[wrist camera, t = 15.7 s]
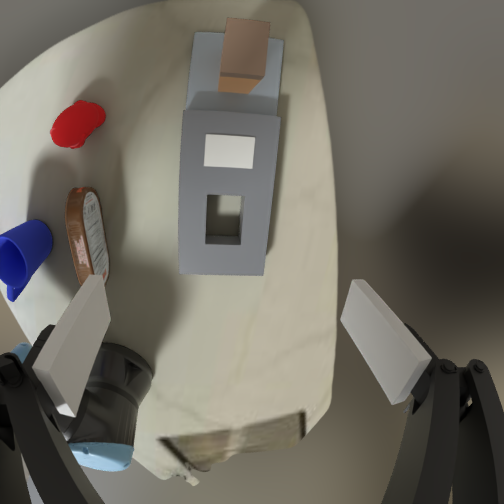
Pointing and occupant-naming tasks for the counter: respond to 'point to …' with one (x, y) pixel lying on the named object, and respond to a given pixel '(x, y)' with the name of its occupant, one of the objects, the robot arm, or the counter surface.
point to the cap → (76, 124)
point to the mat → (207, 79)
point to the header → (226, 189)
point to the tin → (86, 234)
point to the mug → (23, 254)
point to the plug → (243, 55)
